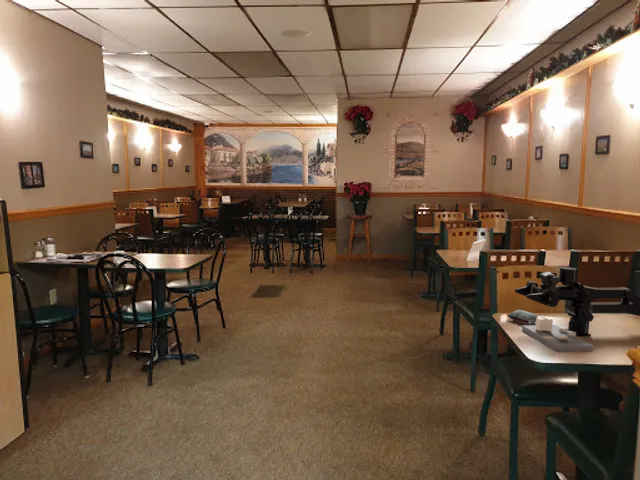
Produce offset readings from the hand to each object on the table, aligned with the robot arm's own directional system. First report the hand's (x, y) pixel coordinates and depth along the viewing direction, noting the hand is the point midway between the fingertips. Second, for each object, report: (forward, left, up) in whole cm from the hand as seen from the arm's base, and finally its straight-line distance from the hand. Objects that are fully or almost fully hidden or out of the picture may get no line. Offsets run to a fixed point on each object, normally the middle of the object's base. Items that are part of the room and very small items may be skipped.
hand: (520, 293), depth 187 cm
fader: (-9, +2, -14) cm, 17 cm away
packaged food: (-11, -16, -17) cm, 26 cm away
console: (-11, +7, -16) cm, 21 cm away
